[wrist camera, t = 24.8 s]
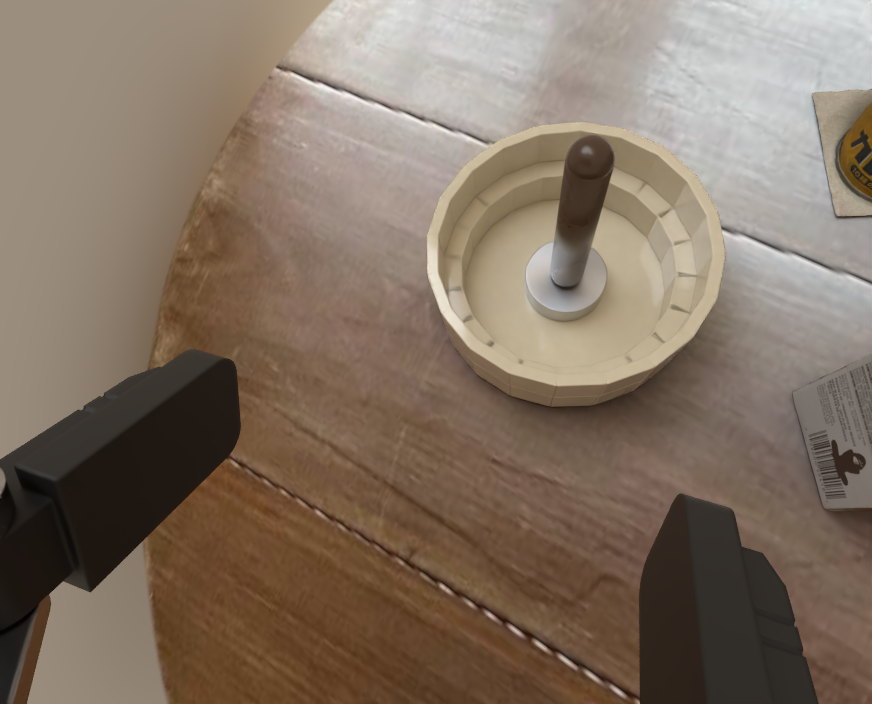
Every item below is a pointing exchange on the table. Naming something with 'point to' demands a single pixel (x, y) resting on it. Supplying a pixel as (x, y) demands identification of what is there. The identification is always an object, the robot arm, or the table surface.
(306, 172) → the table surface
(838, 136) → the condiment
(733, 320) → the table surface
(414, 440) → the table surface
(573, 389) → the bowl
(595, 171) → the espresso tamper
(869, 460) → the coffee box
